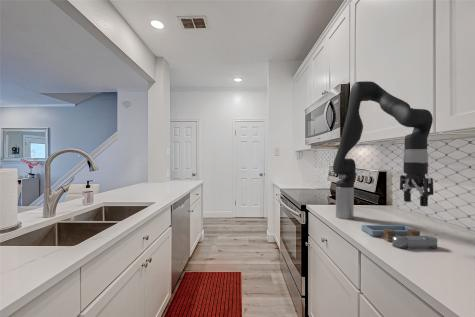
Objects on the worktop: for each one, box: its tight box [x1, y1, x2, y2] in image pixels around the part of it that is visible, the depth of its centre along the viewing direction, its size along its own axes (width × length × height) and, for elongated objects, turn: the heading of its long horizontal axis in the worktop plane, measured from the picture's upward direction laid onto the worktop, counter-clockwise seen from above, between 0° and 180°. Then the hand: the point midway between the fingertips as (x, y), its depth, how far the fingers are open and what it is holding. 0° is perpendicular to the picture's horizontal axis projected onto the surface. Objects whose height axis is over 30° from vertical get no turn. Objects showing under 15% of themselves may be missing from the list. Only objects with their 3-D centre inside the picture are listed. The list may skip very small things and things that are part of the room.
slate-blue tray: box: [361, 224, 414, 238], centre depth 108 cm, size 9×20×2 cm, turn 90°
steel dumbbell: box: [391, 235, 438, 250], centre depth 93 cm, size 5×16×4 cm, turn 90°
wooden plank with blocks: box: [380, 228, 421, 243], centre depth 100 cm, size 5×14×4 cm, turn 90°
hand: (415, 203), depth 93 cm, fingers open, 8 cm apart
